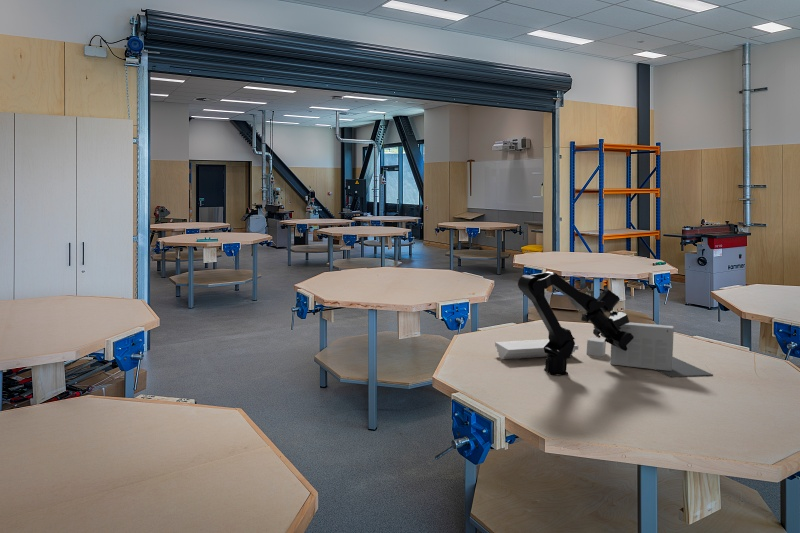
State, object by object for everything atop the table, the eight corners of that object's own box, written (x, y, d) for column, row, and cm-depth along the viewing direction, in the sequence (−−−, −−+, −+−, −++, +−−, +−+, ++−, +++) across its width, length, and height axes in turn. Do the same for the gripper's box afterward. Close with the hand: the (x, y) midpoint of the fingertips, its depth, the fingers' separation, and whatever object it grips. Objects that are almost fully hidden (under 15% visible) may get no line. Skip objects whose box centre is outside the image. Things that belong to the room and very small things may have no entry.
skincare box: (671, 367, 209) (674, 325, 207) (671, 371, 204) (674, 328, 202) (611, 360, 218) (612, 320, 216) (609, 364, 213) (611, 323, 211)
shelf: (494, 355, 223) (495, 342, 222) (561, 350, 231) (562, 338, 231) (507, 363, 212) (508, 349, 212) (577, 358, 221) (578, 345, 220)
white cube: (586, 354, 226) (587, 339, 226) (589, 351, 231) (590, 336, 231) (602, 357, 223) (602, 342, 222) (605, 353, 228) (606, 339, 228)
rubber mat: (668, 355, 227) (668, 354, 227) (713, 375, 203) (713, 374, 202) (629, 356, 224) (629, 355, 224) (670, 377, 200) (670, 376, 199)
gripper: (630, 310, 197) (656, 341, 200) (602, 300, 215) (627, 328, 219) (608, 333, 197) (634, 363, 200) (582, 321, 215) (606, 348, 218)
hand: (626, 349), depth 209 cm, fingers closed
